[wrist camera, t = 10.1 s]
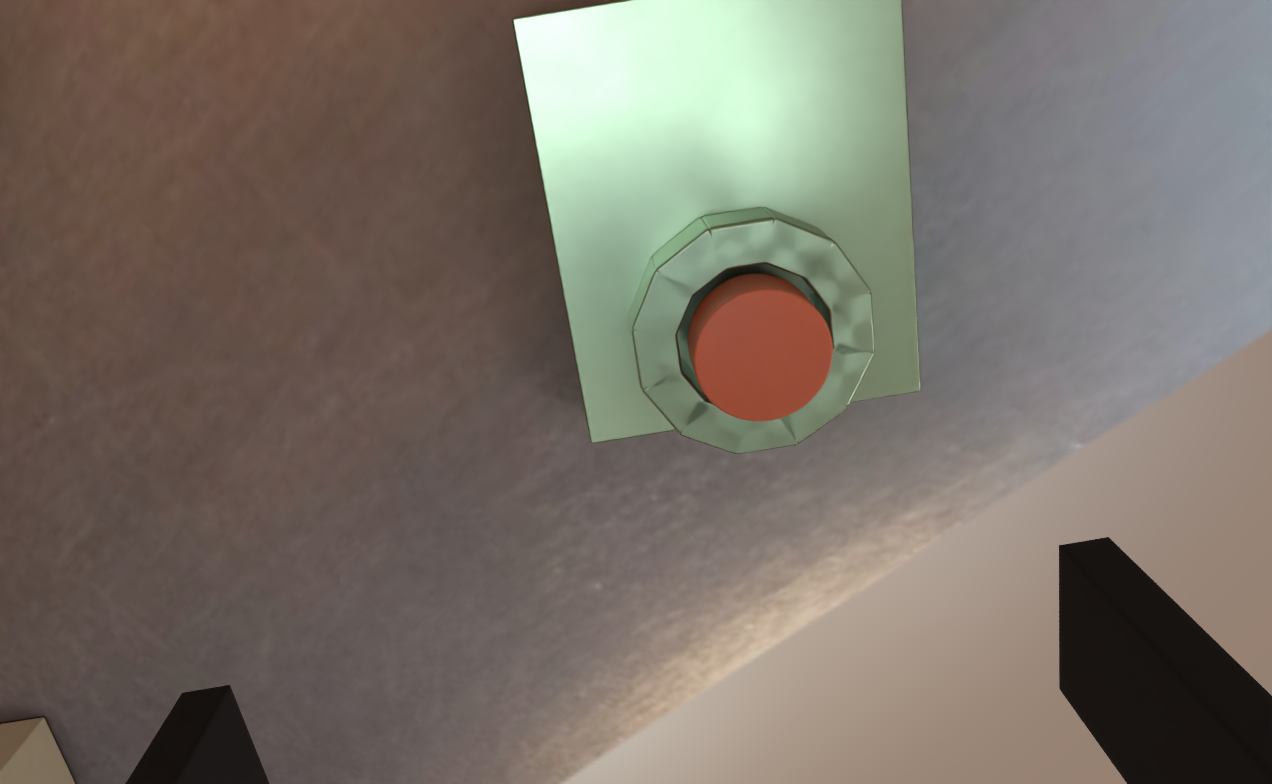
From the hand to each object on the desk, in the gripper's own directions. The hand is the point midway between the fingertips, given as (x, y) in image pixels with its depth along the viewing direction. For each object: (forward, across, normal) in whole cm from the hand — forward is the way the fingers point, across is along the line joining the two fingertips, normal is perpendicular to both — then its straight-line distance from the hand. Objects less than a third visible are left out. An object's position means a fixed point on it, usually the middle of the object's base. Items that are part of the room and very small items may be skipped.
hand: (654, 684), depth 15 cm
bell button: (+12, +4, +1) cm, 13 cm away
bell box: (+16, +4, +4) cm, 17 cm away
